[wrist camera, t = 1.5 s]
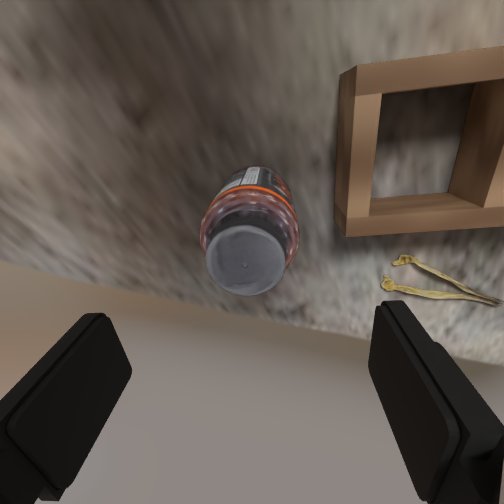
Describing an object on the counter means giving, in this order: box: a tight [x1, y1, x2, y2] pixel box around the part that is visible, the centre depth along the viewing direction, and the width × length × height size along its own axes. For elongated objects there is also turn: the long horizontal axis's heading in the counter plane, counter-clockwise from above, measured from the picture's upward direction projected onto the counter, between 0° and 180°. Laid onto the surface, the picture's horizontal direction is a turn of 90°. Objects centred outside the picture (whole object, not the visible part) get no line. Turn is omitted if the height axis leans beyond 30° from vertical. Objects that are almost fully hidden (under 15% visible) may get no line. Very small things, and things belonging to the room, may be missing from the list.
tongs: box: [381, 255, 504, 306], centre depth 25 cm, size 4×13×2 cm, turn 78°
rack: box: [334, 46, 504, 237], centre depth 18 cm, size 11×21×4 cm, turn 96°
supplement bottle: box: [199, 166, 300, 296], centre depth 18 cm, size 6×6×11 cm
